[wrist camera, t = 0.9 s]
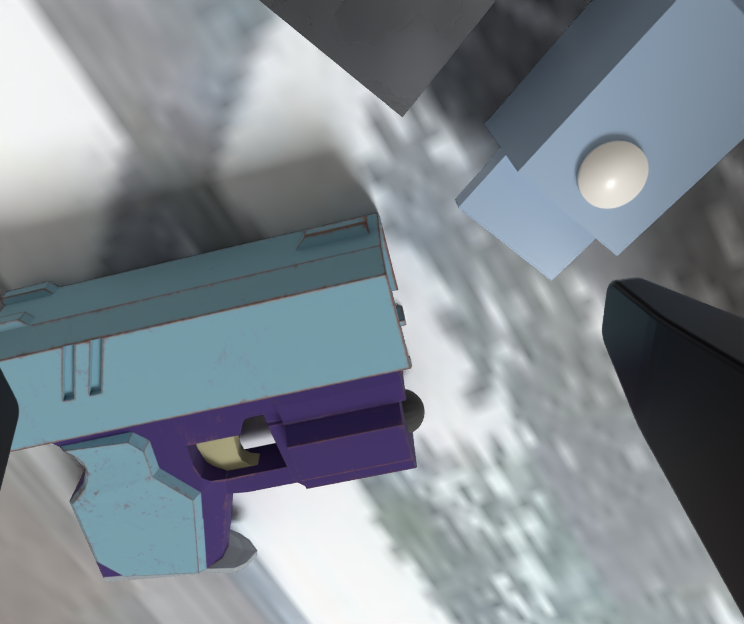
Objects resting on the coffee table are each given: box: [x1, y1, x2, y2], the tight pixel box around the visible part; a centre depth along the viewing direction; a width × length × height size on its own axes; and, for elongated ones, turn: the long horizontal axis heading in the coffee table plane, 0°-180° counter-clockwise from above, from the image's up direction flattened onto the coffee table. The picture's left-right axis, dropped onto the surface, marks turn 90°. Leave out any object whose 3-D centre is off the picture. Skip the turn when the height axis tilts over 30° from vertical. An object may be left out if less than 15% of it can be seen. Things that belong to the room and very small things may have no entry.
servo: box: [455, 0, 744, 281], centre depth 18 cm, size 4×10×5 cm, turn 142°
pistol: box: [0, 213, 424, 582], centre depth 25 cm, size 4×16×15 cm
